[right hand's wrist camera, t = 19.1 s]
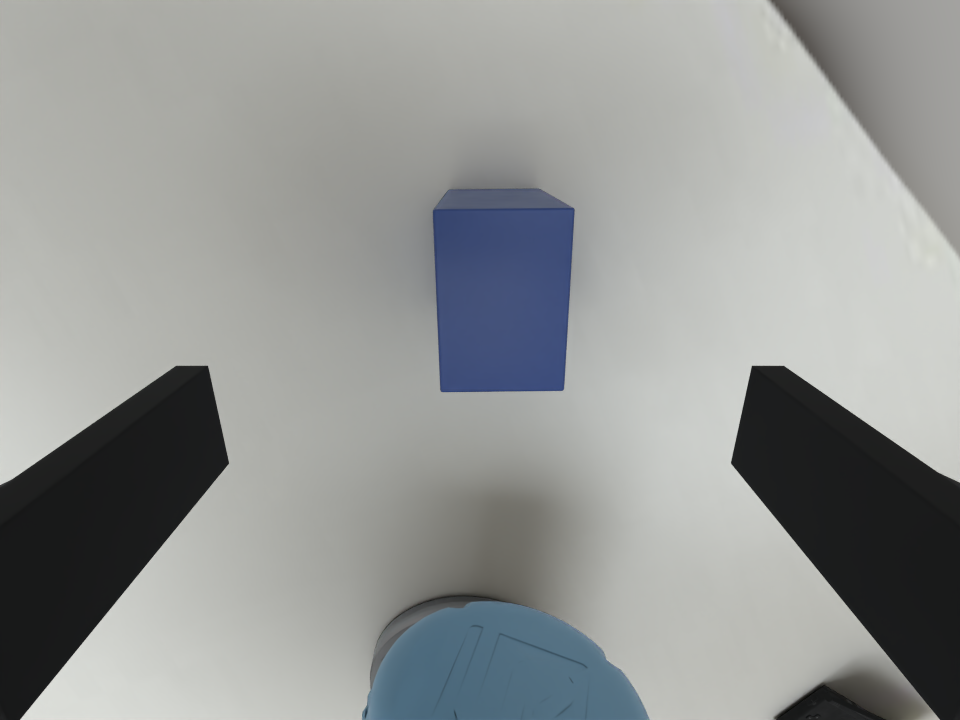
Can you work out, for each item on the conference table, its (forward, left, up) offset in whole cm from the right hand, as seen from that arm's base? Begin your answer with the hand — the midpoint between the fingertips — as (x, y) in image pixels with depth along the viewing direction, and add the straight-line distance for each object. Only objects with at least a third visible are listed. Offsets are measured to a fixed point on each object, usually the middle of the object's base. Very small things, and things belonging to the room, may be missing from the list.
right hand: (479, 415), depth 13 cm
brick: (0, +1, -19) cm, 19 cm away
